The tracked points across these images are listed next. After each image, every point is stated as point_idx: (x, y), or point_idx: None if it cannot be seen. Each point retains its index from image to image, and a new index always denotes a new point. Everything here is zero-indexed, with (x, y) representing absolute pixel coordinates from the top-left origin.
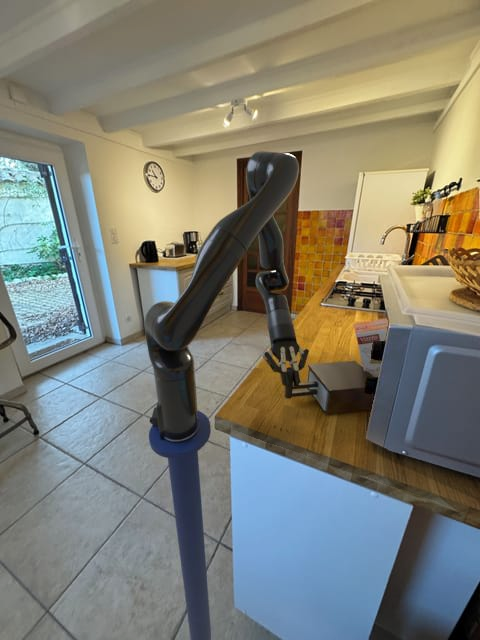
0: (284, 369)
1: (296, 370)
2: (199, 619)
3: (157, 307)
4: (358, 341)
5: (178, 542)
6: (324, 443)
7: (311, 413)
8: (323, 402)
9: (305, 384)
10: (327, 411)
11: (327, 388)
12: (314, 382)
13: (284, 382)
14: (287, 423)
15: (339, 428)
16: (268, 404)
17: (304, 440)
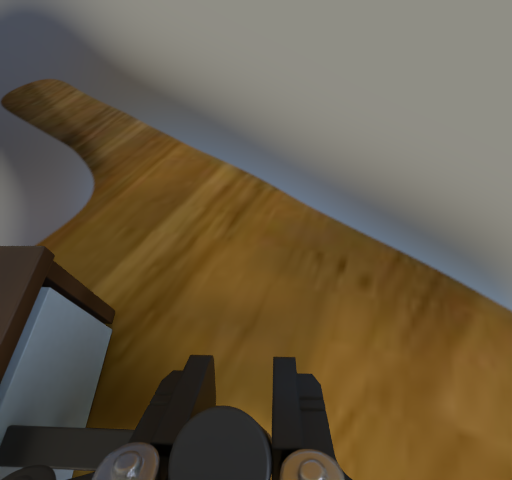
0: (306, 468)
1: (144, 445)
2: None
3: None
4: None
5: None
6: (215, 197)
7: (177, 331)
8: (89, 341)
9: (110, 434)
10: (108, 308)
11: (35, 268)
12: (23, 449)
13: (310, 385)
14: (307, 290)
15: (126, 240)
16: (378, 449)
17: (272, 213)
